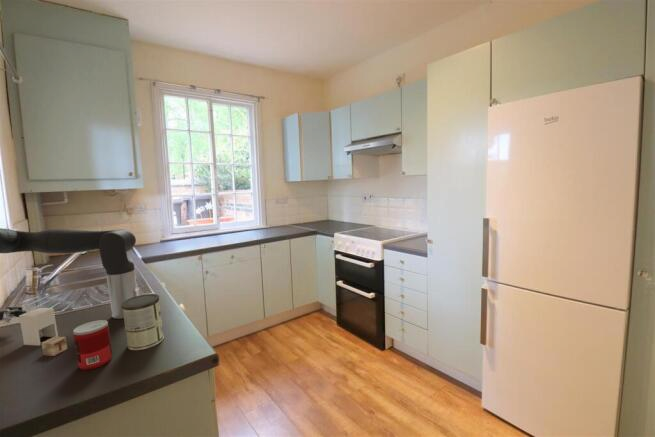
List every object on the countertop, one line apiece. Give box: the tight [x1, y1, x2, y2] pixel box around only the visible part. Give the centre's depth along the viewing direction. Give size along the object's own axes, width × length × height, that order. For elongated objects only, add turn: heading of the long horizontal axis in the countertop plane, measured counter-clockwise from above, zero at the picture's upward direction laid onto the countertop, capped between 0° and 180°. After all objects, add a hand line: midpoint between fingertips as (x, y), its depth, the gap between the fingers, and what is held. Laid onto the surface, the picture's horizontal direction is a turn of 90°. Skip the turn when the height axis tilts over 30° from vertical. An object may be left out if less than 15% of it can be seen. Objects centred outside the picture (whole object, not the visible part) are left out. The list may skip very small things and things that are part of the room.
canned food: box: [72, 319, 113, 371], centre depth 89 cm, size 8×8×11 cm
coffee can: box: [121, 293, 165, 351], centre depth 99 cm, size 10×10×14 cm
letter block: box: [40, 336, 68, 357], centre depth 97 cm, size 4×4×4 cm
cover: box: [18, 307, 59, 347], centre depth 104 cm, size 6×6×10 cm
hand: (10, 319), depth 105 cm, fingers open, 8 cm apart
